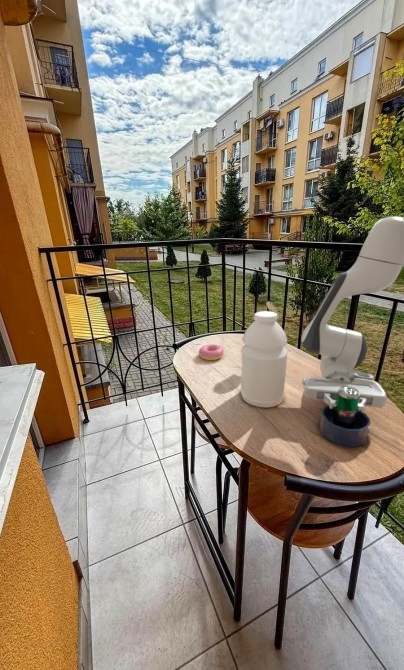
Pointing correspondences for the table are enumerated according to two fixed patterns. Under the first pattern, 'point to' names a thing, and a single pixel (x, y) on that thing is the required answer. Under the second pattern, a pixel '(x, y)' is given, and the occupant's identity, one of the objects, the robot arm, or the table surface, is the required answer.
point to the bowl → (345, 429)
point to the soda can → (346, 407)
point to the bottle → (263, 361)
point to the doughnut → (211, 352)
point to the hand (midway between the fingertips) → (347, 408)
